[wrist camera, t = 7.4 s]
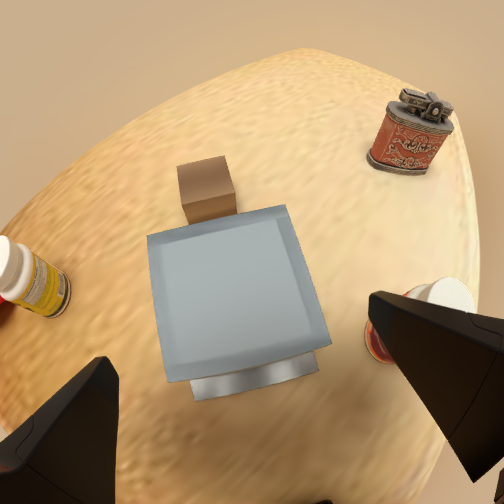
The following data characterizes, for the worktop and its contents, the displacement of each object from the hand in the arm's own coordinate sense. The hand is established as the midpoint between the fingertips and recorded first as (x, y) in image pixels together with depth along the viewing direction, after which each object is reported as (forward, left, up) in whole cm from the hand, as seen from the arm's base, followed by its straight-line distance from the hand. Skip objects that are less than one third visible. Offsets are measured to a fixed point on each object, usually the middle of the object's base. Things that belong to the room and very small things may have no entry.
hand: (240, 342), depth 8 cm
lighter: (+12, -22, -12) cm, 28 cm away
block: (+13, -1, -12) cm, 18 cm away
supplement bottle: (+10, +16, -12) cm, 22 cm away
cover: (+2, 0, -11) cm, 11 cm away
